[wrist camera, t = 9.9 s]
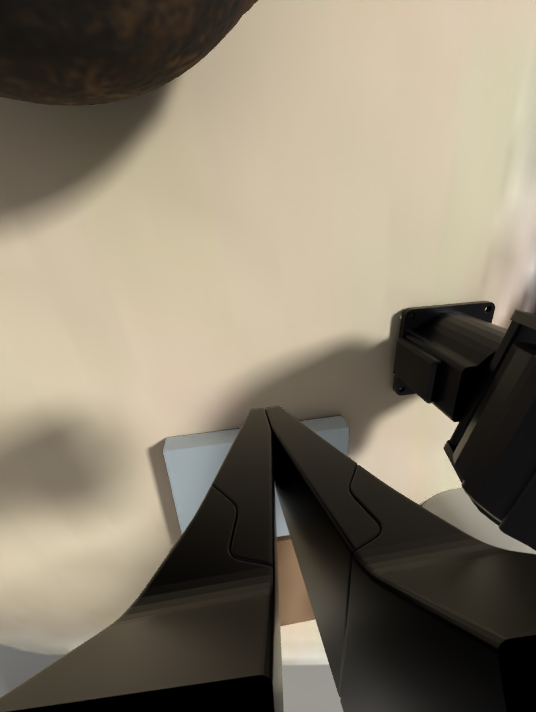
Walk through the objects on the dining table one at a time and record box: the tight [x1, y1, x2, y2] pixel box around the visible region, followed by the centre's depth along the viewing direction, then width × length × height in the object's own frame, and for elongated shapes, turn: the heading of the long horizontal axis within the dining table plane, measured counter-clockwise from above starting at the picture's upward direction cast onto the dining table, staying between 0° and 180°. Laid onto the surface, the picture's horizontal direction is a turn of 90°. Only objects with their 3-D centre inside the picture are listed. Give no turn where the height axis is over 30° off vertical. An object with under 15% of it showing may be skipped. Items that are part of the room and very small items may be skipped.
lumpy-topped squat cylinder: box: [422, 488, 536, 554], centre depth 28 cm, size 10×13×9 cm
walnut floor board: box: [277, 535, 315, 626], centre depth 29 cm, size 14×12×2 cm
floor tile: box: [163, 416, 349, 537], centre depth 25 cm, size 13×10×2 cm
